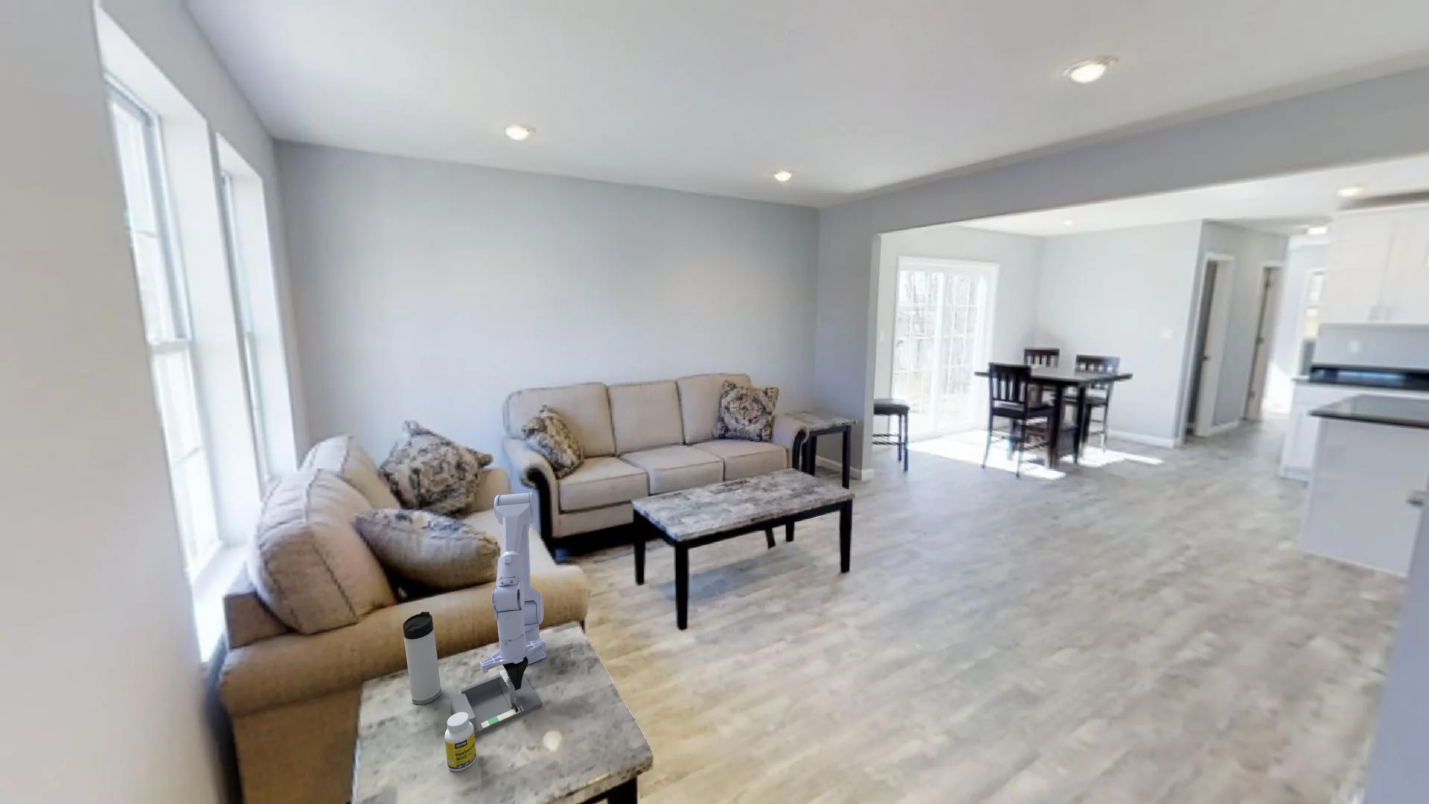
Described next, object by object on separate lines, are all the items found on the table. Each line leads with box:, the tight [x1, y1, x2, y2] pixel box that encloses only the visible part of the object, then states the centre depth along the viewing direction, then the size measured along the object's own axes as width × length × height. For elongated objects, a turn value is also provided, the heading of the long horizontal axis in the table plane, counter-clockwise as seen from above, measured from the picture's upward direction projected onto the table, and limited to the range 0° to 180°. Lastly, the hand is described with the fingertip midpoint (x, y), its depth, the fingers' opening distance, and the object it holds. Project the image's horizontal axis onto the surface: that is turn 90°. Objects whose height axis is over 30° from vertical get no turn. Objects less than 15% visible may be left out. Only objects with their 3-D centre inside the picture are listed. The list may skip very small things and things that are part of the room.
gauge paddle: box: [498, 669, 518, 712], centre depth 128 cm, size 11×1×5 cm, turn 37°
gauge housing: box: [449, 670, 543, 738], centre depth 128 cm, size 13×17×4 cm
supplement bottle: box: [444, 712, 477, 772], centre depth 112 cm, size 5×5×10 cm
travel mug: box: [402, 611, 442, 705], centre depth 132 cm, size 6×7×20 cm
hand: (516, 687), depth 131 cm, fingers closed
